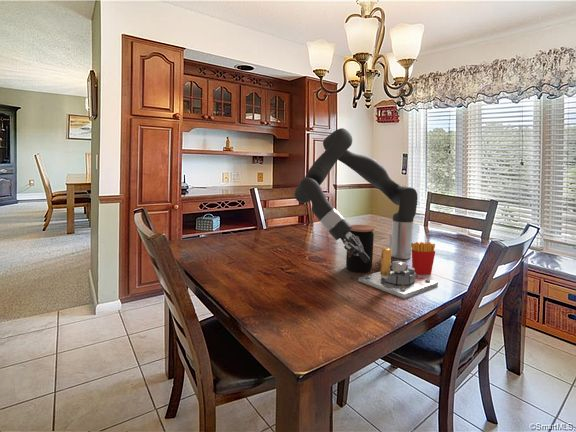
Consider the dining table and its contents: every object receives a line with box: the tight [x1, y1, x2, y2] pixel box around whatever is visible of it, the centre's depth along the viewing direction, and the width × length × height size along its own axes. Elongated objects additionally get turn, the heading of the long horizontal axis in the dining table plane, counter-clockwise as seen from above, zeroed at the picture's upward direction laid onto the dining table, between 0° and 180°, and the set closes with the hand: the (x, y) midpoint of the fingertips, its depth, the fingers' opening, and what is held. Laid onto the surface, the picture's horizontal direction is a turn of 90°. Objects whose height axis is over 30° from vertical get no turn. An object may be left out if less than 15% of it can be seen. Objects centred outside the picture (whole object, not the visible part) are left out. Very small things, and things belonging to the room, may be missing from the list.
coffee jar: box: [345, 224, 375, 274], centre depth 143 cm, size 11×11×18 cm
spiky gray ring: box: [379, 247, 417, 285], centre depth 124 cm, size 17×11×13 cm, turn 136°
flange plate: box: [358, 260, 439, 299], centre depth 127 cm, size 20×20×8 cm
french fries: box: [411, 241, 436, 276], centre depth 139 cm, size 9×4×13 cm, turn 86°
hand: (368, 261), depth 121 cm, fingers closed
